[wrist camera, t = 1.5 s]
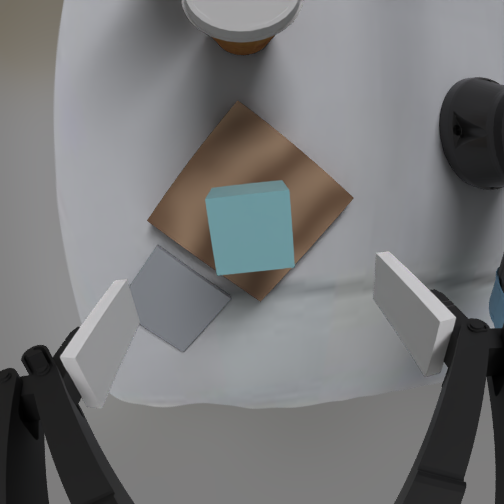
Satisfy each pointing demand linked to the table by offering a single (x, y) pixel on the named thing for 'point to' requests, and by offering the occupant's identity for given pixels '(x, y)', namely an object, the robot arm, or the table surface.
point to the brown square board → (244, 172)
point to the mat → (174, 299)
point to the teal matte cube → (251, 227)
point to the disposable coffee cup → (242, 21)
